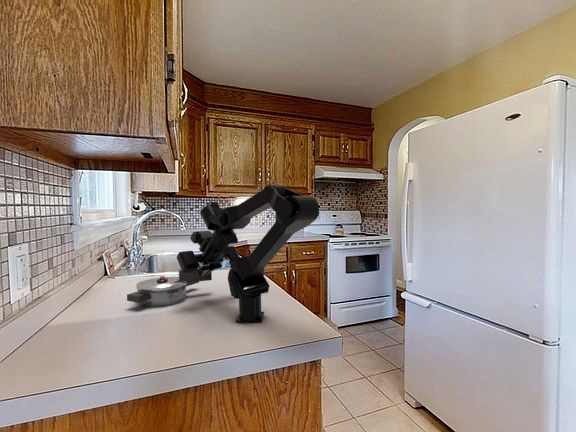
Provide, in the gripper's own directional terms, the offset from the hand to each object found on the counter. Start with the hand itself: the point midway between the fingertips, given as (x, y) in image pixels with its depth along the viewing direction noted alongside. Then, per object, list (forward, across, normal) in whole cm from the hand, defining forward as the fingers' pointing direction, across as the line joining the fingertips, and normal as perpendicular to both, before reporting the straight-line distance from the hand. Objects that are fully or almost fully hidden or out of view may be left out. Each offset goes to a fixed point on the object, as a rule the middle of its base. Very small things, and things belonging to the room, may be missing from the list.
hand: (200, 274), depth 96 cm
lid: (+7, +5, -3) cm, 9 cm away
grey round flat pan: (+12, +7, -1) cm, 13 cm away
